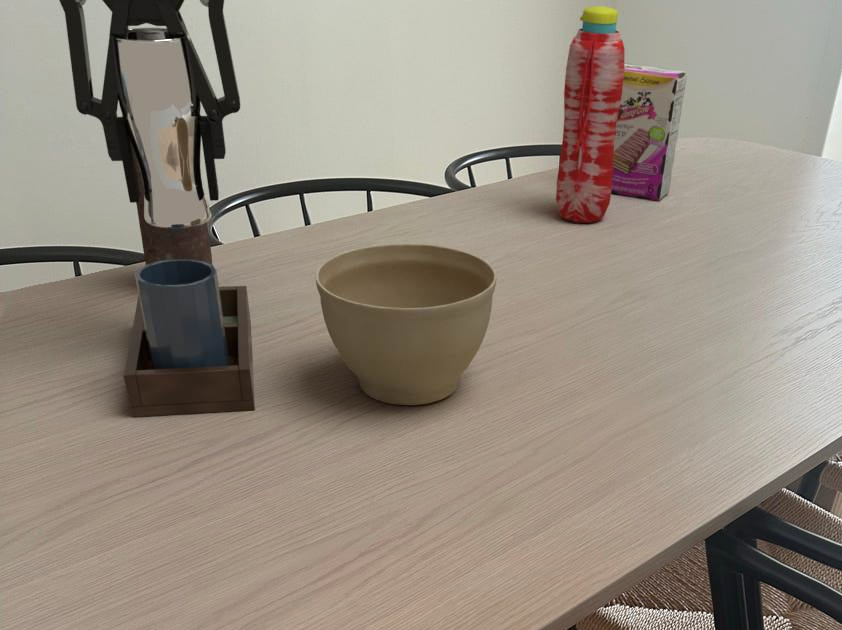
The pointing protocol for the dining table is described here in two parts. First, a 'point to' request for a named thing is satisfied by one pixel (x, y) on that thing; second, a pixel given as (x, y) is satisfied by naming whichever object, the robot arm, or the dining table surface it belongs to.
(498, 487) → the dining table surface
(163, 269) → the tumbler
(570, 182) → the water bottle
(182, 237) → the candle
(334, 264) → the planter bowl
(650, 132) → the candy bar box
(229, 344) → the glass rack
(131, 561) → the dining table surface
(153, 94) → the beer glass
